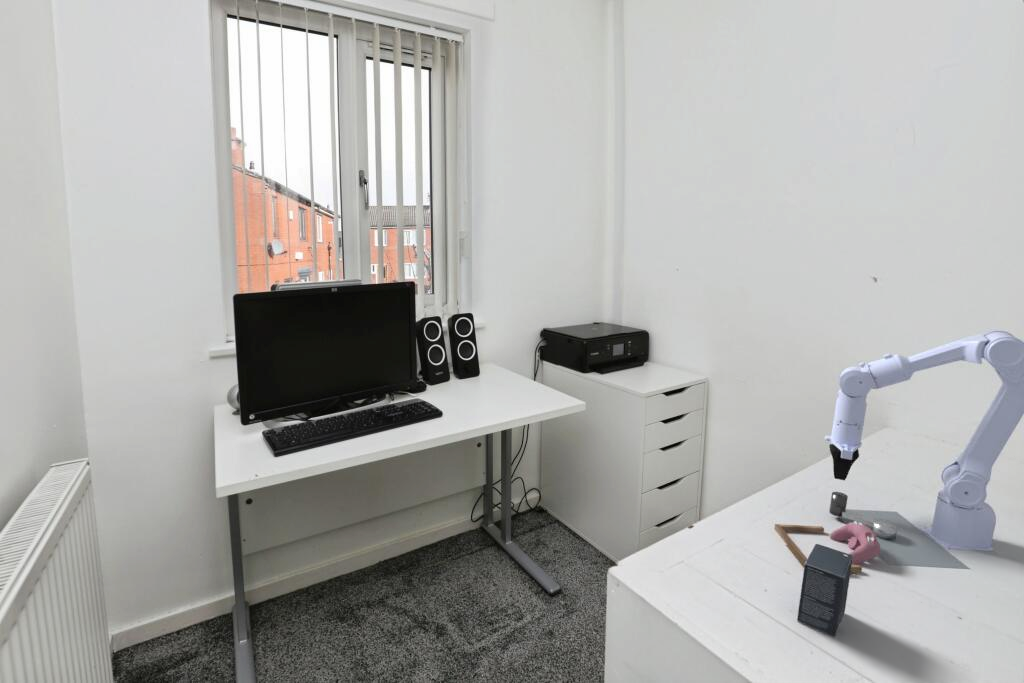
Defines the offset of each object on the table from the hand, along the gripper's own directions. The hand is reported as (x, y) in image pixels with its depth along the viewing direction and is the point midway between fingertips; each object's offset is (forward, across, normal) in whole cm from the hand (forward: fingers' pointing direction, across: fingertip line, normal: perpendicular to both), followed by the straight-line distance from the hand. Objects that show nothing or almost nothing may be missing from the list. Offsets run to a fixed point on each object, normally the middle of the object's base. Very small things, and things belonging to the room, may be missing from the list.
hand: (839, 478), depth 125 cm
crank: (+7, +6, +5) cm, 11 cm away
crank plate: (+8, +7, +10) cm, 15 cm away
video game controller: (+8, +18, +3) cm, 20 cm away
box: (+8, +43, -4) cm, 44 cm away
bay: (+8, +21, -4) cm, 23 cm away
